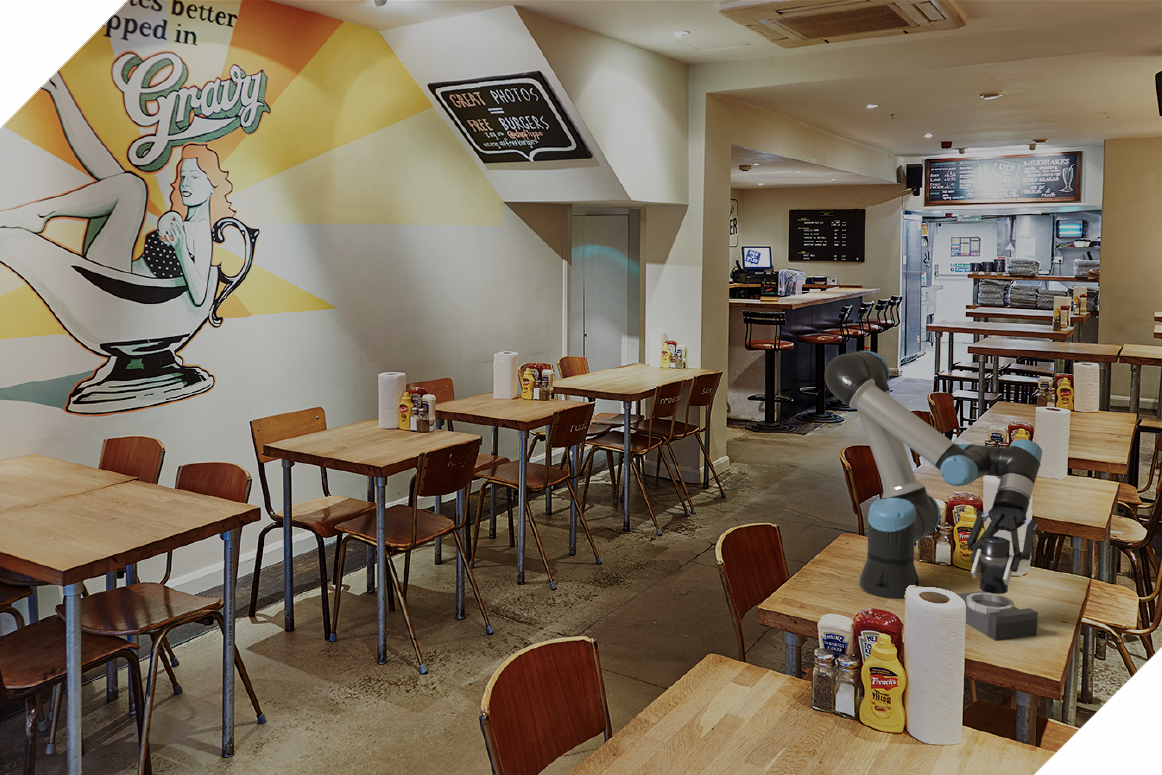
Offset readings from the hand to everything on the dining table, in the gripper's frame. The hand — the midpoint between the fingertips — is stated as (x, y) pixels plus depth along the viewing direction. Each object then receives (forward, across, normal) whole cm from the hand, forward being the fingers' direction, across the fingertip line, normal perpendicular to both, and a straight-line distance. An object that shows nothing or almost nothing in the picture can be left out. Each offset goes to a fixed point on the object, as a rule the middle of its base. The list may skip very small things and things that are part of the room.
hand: (989, 578), depth 200 cm
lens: (0, 0, -5) cm, 5 cm away
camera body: (+6, +1, -11) cm, 13 cm away
